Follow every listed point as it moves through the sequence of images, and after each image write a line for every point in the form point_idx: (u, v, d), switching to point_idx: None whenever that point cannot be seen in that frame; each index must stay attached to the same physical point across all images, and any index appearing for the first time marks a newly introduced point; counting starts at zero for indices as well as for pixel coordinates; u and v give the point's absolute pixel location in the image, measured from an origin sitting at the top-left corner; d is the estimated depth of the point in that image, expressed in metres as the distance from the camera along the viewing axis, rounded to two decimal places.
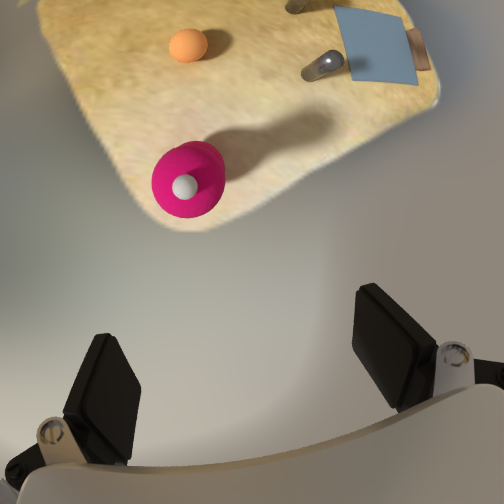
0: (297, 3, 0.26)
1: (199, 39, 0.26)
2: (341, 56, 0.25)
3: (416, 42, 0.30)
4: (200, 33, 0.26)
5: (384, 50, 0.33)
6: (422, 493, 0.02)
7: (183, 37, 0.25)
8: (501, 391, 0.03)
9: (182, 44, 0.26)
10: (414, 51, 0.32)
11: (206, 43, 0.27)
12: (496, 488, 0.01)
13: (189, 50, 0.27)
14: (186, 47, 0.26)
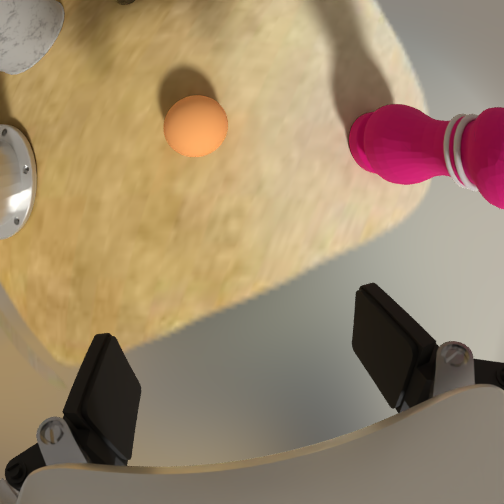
0: None
1: (196, 103, 0.17)
2: None
3: None
4: (180, 103, 0.18)
5: None
6: (422, 493, 0.02)
7: (187, 130, 0.18)
8: (501, 391, 0.03)
9: (202, 131, 0.18)
10: None
11: (199, 95, 0.18)
12: (496, 488, 0.01)
13: (215, 120, 0.18)
14: (210, 124, 0.18)
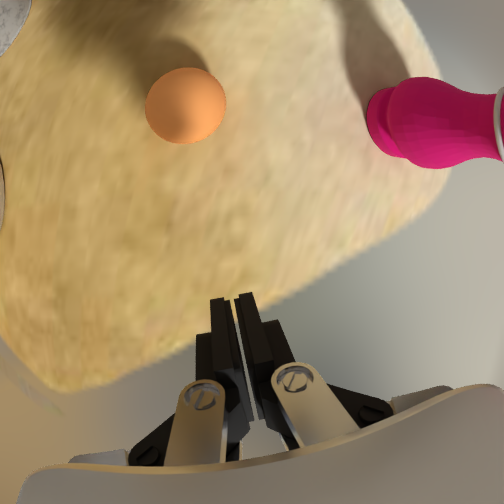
0: None
1: (185, 75, 0.13)
2: None
3: None
4: (165, 77, 0.13)
5: None
6: (422, 493, 0.02)
7: (175, 108, 0.13)
8: (501, 391, 0.03)
9: (195, 108, 0.13)
10: None
11: (188, 67, 0.14)
12: (496, 488, 0.01)
13: (211, 94, 0.14)
14: (204, 100, 0.13)
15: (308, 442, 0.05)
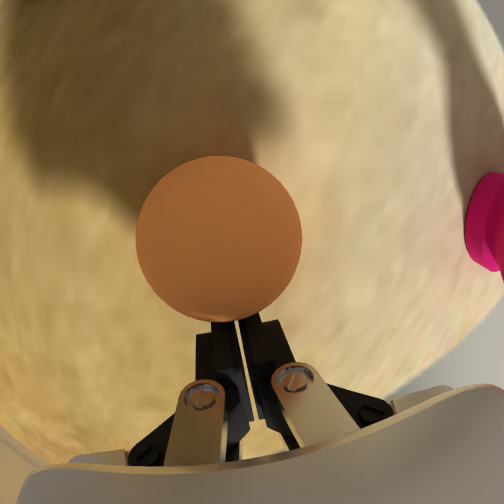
0: None
1: (215, 179, 0.06)
2: None
3: None
4: (168, 184, 0.07)
5: None
6: (422, 493, 0.02)
7: (204, 270, 0.06)
8: (501, 391, 0.03)
9: (250, 268, 0.06)
10: None
11: (217, 157, 0.08)
12: (496, 488, 0.01)
13: (281, 226, 0.07)
14: (269, 243, 0.07)
15: (308, 442, 0.05)
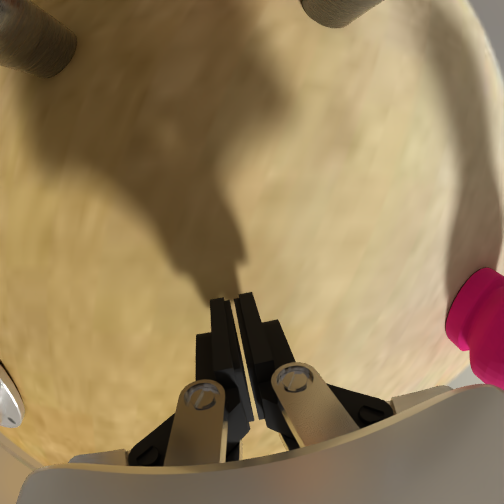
0: (29, 28, 0.04)
1: None
2: None
3: None
4: None
5: None
6: (422, 493, 0.02)
7: None
8: (501, 391, 0.03)
9: None
10: None
11: None
12: (496, 488, 0.01)
13: None
14: None
15: (308, 442, 0.05)
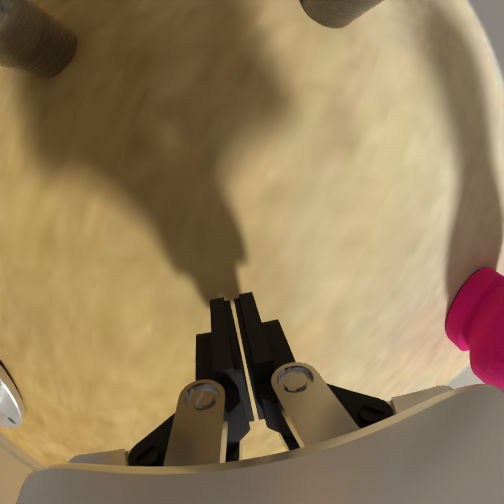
0: (29, 28, 0.04)
1: None
2: None
3: None
4: None
5: None
6: (422, 493, 0.02)
7: None
8: (501, 391, 0.03)
9: None
10: None
11: None
12: (496, 488, 0.01)
13: None
14: None
15: (308, 442, 0.05)
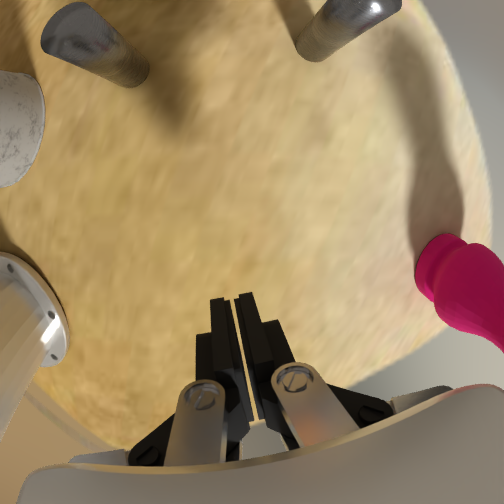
0: (130, 60, 0.11)
1: None
2: None
3: None
4: None
5: None
6: (422, 493, 0.02)
7: None
8: (501, 391, 0.03)
9: None
10: None
11: None
12: (496, 488, 0.01)
13: None
14: None
15: (308, 442, 0.05)
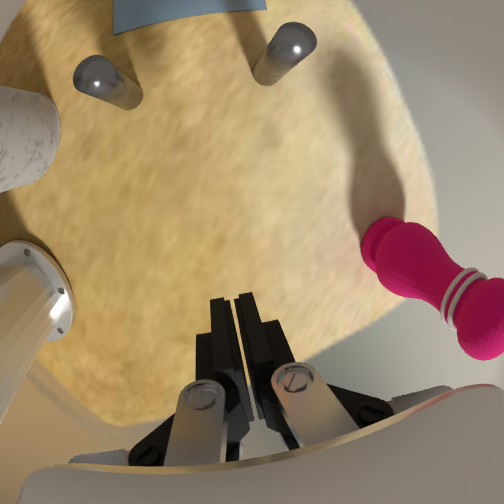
0: (131, 91, 0.16)
1: None
2: (289, 26, 0.12)
3: None
4: None
5: None
6: (422, 493, 0.02)
7: None
8: (501, 391, 0.03)
9: None
10: None
11: None
12: (496, 488, 0.01)
13: None
14: None
15: (308, 442, 0.05)
